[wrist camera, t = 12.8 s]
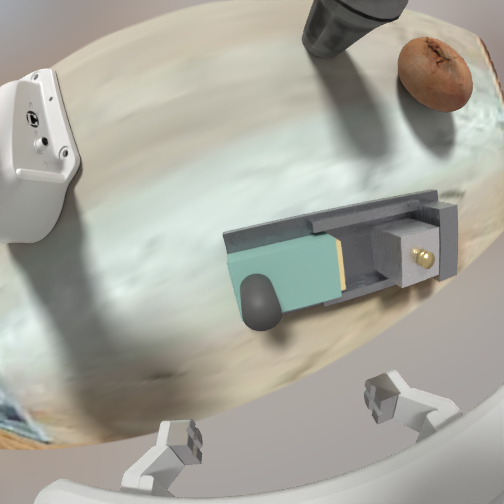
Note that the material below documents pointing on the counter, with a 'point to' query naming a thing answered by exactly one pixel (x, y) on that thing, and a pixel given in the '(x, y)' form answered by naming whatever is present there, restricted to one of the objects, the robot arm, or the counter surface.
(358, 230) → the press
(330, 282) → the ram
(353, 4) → the beverage cup
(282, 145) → the counter surface
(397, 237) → the housing
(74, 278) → the counter surface
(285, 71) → the counter surface
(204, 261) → the counter surface
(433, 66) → the onion
